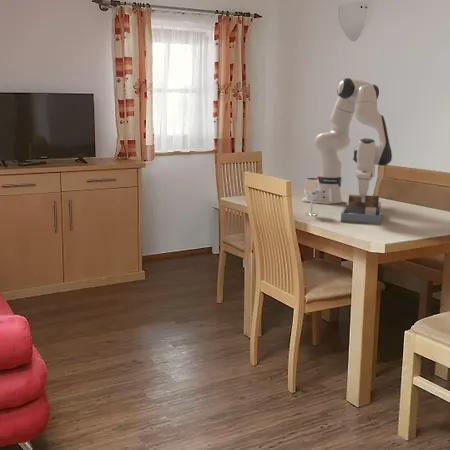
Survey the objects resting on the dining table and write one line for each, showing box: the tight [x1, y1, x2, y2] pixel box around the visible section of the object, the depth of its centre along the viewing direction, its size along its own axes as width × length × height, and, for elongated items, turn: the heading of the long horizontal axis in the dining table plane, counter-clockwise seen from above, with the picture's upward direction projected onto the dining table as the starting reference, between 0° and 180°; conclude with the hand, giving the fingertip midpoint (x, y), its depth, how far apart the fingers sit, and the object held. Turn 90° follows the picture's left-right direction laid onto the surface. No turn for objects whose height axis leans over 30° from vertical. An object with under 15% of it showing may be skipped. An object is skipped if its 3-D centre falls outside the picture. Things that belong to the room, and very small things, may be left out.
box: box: [340, 208, 383, 225], centre depth 292 cm, size 18×13×4 cm
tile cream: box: [365, 207, 376, 215], centre depth 294 cm, size 5×5×2 cm
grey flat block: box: [345, 200, 382, 211], centre depth 304 cm, size 16×14×6 cm
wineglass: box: [303, 177, 321, 217], centre depth 303 cm, size 8×8×18 cm
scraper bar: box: [348, 194, 380, 208], centre depth 295 cm, size 14×3×5 cm, turn 74°
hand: (363, 201), depth 295 cm, fingers open, 3 cm apart
